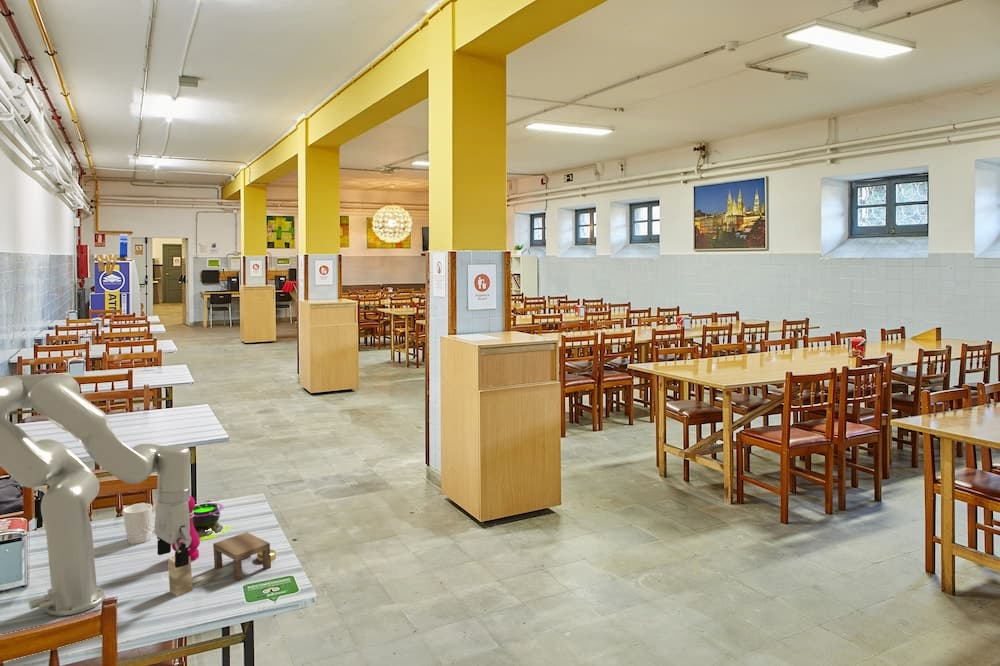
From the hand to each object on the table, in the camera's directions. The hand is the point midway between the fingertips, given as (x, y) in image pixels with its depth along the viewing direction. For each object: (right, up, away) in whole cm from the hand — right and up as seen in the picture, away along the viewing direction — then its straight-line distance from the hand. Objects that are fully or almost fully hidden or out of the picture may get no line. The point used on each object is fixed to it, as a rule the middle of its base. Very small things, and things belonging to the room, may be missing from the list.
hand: (172, 559), depth 178 cm
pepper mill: (-6, -6, +21) cm, 22 cm away
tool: (+6, -8, +6) cm, 12 cm away
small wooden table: (+13, -7, +14) cm, 20 cm away
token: (+17, -6, +20) cm, 27 cm away
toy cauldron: (-8, -4, +40) cm, 41 cm away
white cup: (-26, -5, +34) cm, 43 cm away
